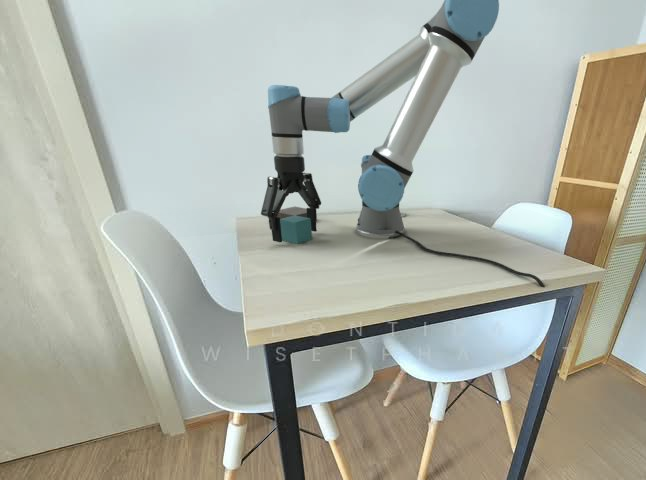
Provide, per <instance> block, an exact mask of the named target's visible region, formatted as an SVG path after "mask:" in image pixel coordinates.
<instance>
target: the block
mask: <svg viewBox="0 0 646 480" xmlns="http://www.w3.org/2000/svg"><path fill="white" fill-rule="evenodd" d="M280 225H281V234H282V242H287V243H291V244H296V245H299V244H302V243H304V242H308V241H310V240H312V239H313V231H312V230H311V218H306V217H301V216H296V215H294V216H290V217H286V218H282V219H280Z"/></svg>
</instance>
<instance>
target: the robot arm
mask: <svg viewBox="0 0 646 480" xmlns="http://www.w3.org/2000/svg"><path fill="white" fill-rule="evenodd" d="M499 12H500V1H499V0H444V1H443V2H442V4H441V6H440V8H439V9H438V11H437V12H436V13H435V15H433V17H431V18H430V20H428V21H427V22H426V23H424V24H423V25H422V26H420V29H419V33H418V34H417V35H416V36H414V37H413V38H412V39H410V40H409V41H408V42H406V43H405V44H404V45H402V46H401V47H399V48H398V49H396V50H395V51H394V52H393V53H390V55H388V56H387V57H386V58H383V60H382V61H380V62H378V63H377V64H376V65H375V66H373V67H372V68H371V69H369V70H367V71H366V72H365V73H364V74H362V75H361V76H359V77H358V78H356V79H355V80H354V81H353V82H351V83H349V85H347V86H345V87H344V88H343V89H342V90H340V91H339V92H337V93H336V94H334V95H333V96H331V97H319V96H318V97H315V96H312V97H311V96H303V95H302V94H301V91H300V89H299V88H298V87H297V86H295V85H285V84H284V85H283V84H272V85H269V87H268V88H267V103H268V104H267V109H268V114H269V122H270V131H271V141H272V153H273V154H275V155H274V157H273V162H274V170H275V171H276V172H277V175H276V177H274V176H267V179H266V180H267V187H266V192H265V195H264V199H263V203H262V206H261V211H260V215H261V216H263V217H267V218H268V226H269V229H270V230H271V236H272V241H273V242H276V243H283V240H282V234H281V225H280V218H279V217H277V215H278V213H279V211H280V210H281V209H282V206H283V205H284V203H285V200H286V198H287V197H288V196H289V195H290V194H294V193H298V194H299V196H300V197H301V199H302V201H304V203H305V204H306V205H307V206H308V207H305V208H306V209H307V218H311V230H312V232H315V233H316V232H317V221H316V218H317V219H318V217H317V216H318V215H317V210H319V209H320V206H321V205H322V200H321V197H320V195H319V193H318V191H317V188H316V185H315V183H314V181H313V174H312V173H311V172H310V173H309V172H305V171H306V165H305V157H304V156H303V155H304V153H305V150H304V149H305V148H304V138H303V137H304V136H303V131H306V132H311V131H312V132H323V133H324V132H325V133H334V134H339V133H347V132H349V130H350V127H351V122H352V121H354V120H355V119H356V118H358V117H359V116H361V115H362V114H363V113H365V112H366V111H368V110H369V109H371V108H372V107H374V106H375V105H376V104H379V102H381V101H382V100H383V99H385V98H386V97H388V96H390V95H391V94H392V93H393V92H395V91H397V90H398V89H399V88H400V87H402V86H404V85H405V84H406V83H408V82H410V81H411V80H412V79H414V80H413V81H412V83H411V86H410V87H409V90H408V92H407V94H406V95H405V98H404V100H403V102H402V104H401V106H400V107H399V111H398V113H397V115H396V117H395V118H394V121H393V123H392V125H391V127H390V129H389V132H388V133H387V135H386V137H385V139H384V141H383V144H381V145H379V146H377V147H374V149H373V151H372V153H371V154H365V155H363V156H362V158H361V163H360V167H361V175H360V177H359V179H358V182H357V183H358V184H357V189H358V190H357V191H358V194H359V196H360V199H361V209H360V214H359V217H357V218H358V219H357V222H356V223H357V224H356V231H357V232H359V233H361V234H363V235H367V236H374V237H388V239H392V238H397V237H400V236H401V237H403V238H405V239H407V240H409V241H411V242H413V243H414V244H416V245H417V246H418V247H420V248H421V249H422V250H423V251H426V252H428V253H432V254H435V255H441V256H449V257H457V258H463V259H469V260H474V261H475V260H476V261H479V262H485V263H488V264H492V265H494V266H497V267H500V268H502V269H504V270H506V271H508V272H510V273H512V274H515V275H517V276H521V277H527V278H531V279H533V280H535V281H536V282H537V283H538V284H539V286H540V287H541V288H546V285H545V284H544V283H543V281H542V280H541V279H540V278H539V277H538V276H537V275H534V274H531V273H529V272H521V271H518V270H515V269H513V268H511V267H509V266H507V265H505V264H503V263H500V262H498V261H495V260H492V259H487V258H483V257H479V256H472V255H468V254H467V255H466V254H462V253H461V254H460V253H455V252H446V251H439V250H434V249H431V248H427V247H426V246H424V245H423V244H422V243H420V242H419V241H418V240H416V239H414V238H412V237H410V236H408V235H406V234H404V233H405V225H404V220H403V217H401V213H402V212H401V210H400V202H401V201H402V200H403V197H404V194H405V188H406V186H407V185H408V182H409V181H410V179H411V177H412V175H413V174H414V172H415V171H414V167H413V161H414V159H415V157H416V155H417V153H418V151H419V149H420V147H421V146H422V144H423V142H424V139H426V136H427V134H428V132H429V130H430V129H431V126H432V124H433V122H434V121H435V119H436V117H437V115H438V112H439V111H440V109H441V108H442V105H443V103H444V101H445V100H446V97H447V96H448V94H449V92H450V90H451V88H452V86H453V84H454V82H455V80H456V78H457V76H458V75H459V73H460V71H461V69H462V68H463V67H466V66H469V65H471V63H472V62H473V60H474V58H475V56H476V54H477V53H478V51H479V49H480V47H481V45H482V43H483V41H484V39H485V37H487V36H488V35H489V34H490V33H491V32H492V30H493V29H494V28H495V24H496V22H497V19H498V16H499Z"/></svg>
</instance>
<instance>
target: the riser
mask: <svg viewBox="0 0 646 480" xmlns="http://www.w3.org/2000/svg"><path fill="white" fill-rule="evenodd" d="M306 208H307V207H299V206H291V207H286V208H281V209H280V211H279V213H278V215H277V217H279V218H280V219H282V218H286V217H290V216H294V215H296V216H301V217H306V218H307V209H306ZM316 222H318V217H317V218H316Z"/></svg>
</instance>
